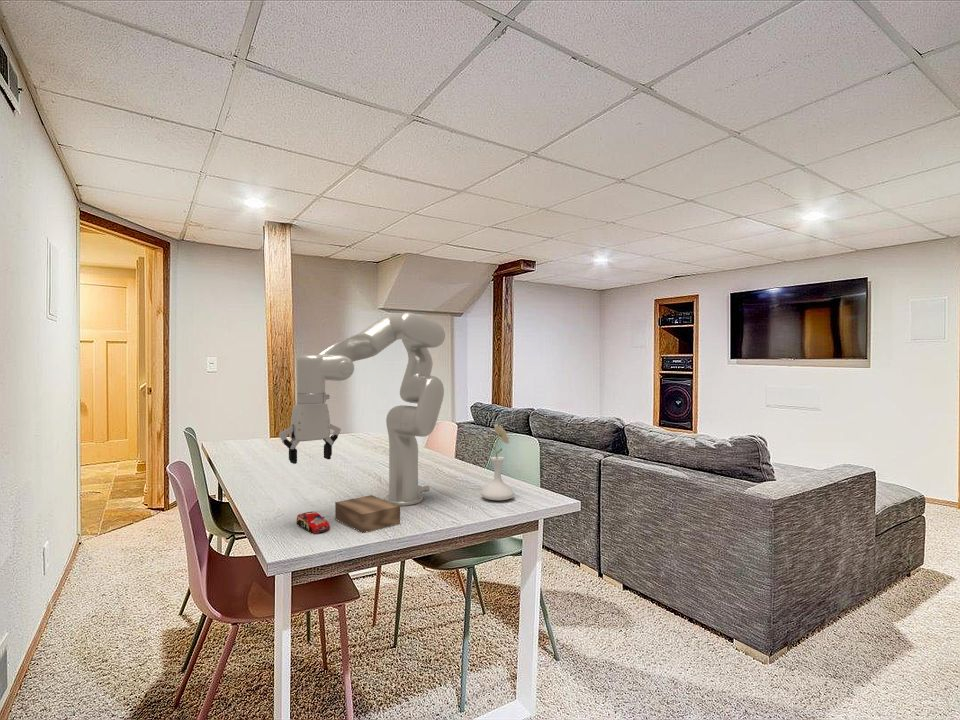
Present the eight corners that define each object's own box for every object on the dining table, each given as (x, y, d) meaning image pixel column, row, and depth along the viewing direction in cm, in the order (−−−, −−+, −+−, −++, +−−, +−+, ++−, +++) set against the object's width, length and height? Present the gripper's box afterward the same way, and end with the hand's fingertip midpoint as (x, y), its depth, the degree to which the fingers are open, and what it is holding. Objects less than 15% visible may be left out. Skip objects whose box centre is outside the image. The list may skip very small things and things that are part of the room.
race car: (332, 532, 139) (332, 517, 139) (313, 536, 135) (313, 521, 135) (312, 520, 149) (312, 506, 149) (294, 524, 145) (294, 510, 145)
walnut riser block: (371, 511, 157) (371, 495, 157) (400, 523, 145) (400, 506, 145) (335, 519, 149) (335, 502, 149) (362, 532, 137) (362, 514, 137)
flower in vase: (515, 503, 167) (515, 427, 167) (480, 503, 167) (481, 426, 167) (512, 493, 180) (513, 422, 180) (480, 493, 180) (480, 422, 180)
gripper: (334, 397, 151) (334, 455, 151) (274, 400, 139) (274, 462, 139) (345, 398, 145) (345, 459, 145) (284, 401, 134) (284, 467, 134)
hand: (310, 460), depth 142 cm, fingers open, 9 cm apart
